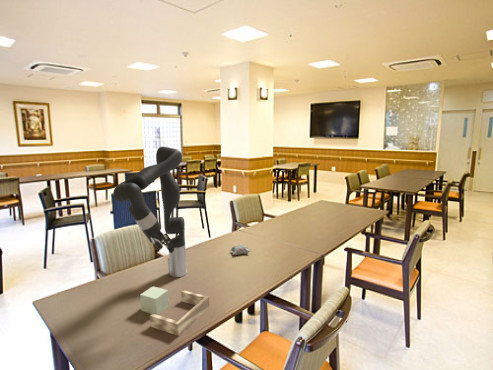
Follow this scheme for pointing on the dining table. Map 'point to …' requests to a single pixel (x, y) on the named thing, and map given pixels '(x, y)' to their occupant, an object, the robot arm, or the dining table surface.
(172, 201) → the robot arm
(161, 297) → the sage block
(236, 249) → the packaged food
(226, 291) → the dining table surface
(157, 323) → the birch corral
